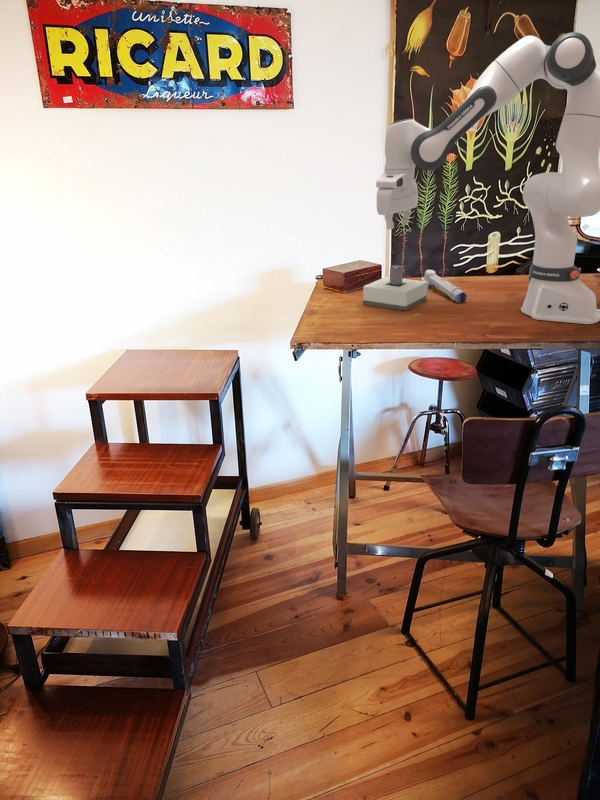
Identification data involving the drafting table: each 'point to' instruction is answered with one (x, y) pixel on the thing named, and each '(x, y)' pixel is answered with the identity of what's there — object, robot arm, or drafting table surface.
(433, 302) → the drafting table surface
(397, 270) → the dark grey upright bar
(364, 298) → the socket block
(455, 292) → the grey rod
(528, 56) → the robot arm
